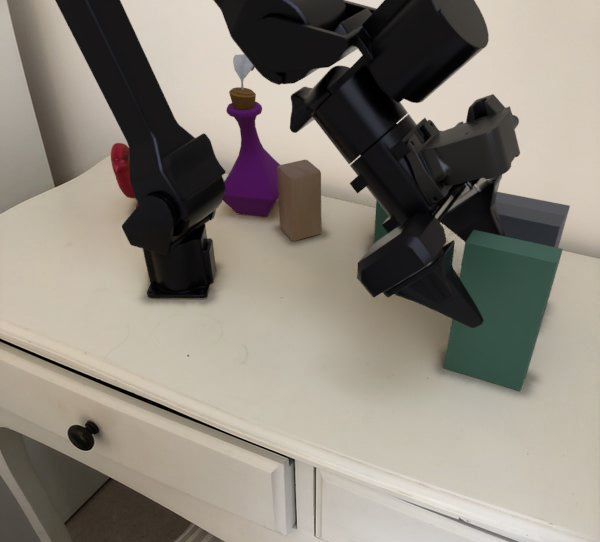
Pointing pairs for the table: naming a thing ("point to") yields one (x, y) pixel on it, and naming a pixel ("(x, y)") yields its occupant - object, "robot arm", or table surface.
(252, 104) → the perfume bottle
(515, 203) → the charcoal book
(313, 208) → the wooden block
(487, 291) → the green book
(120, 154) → the decorative bird figurine
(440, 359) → the table surface
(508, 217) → the charcoal book
